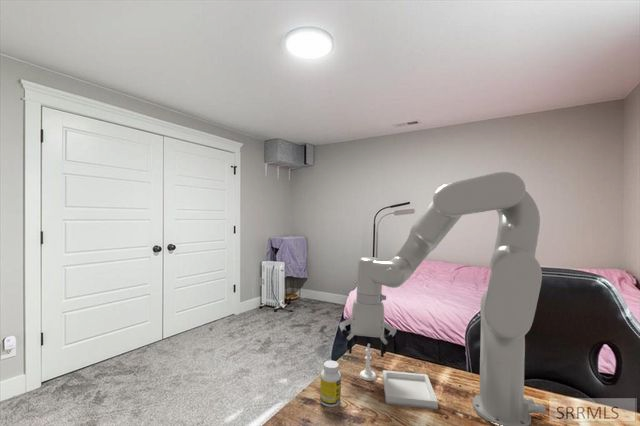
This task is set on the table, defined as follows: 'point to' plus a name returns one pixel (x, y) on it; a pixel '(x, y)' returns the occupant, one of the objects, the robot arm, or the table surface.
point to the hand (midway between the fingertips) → (366, 353)
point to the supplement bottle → (330, 384)
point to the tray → (409, 390)
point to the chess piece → (368, 367)
